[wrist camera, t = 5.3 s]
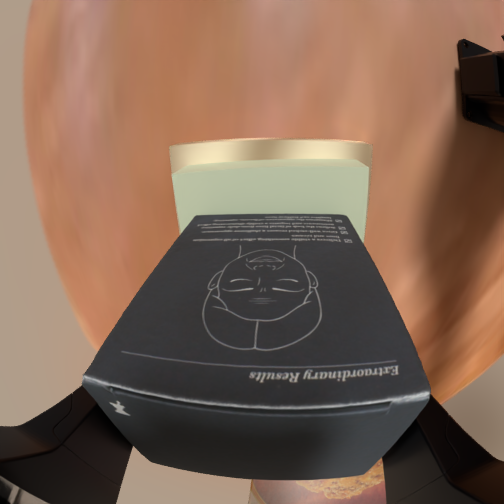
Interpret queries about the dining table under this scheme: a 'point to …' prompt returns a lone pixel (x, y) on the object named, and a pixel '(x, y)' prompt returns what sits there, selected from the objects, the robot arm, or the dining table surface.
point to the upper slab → (274, 189)
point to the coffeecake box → (323, 490)
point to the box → (262, 353)
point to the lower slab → (268, 152)
